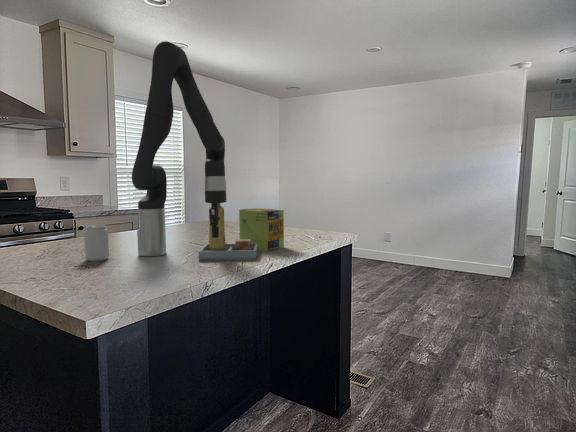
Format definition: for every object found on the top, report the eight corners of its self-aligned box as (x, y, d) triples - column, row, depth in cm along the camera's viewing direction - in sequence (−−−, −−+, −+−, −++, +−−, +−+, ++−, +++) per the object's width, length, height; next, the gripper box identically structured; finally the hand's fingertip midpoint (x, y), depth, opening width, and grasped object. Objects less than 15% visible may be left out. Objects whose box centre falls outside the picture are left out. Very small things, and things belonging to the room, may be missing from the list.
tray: (198, 260, 134) (198, 251, 133) (206, 252, 148) (206, 243, 148) (255, 260, 134) (255, 250, 134) (257, 251, 149) (257, 243, 148)
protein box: (268, 251, 150) (267, 211, 148) (239, 247, 159) (238, 209, 157) (284, 247, 158) (284, 209, 156) (256, 243, 167) (255, 207, 166)
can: (99, 262, 132) (97, 227, 131) (80, 261, 134) (78, 226, 133) (113, 257, 140) (112, 224, 138) (95, 257, 141) (93, 224, 140)
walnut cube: (235, 255, 139) (235, 241, 138) (237, 252, 144) (236, 239, 143) (249, 255, 139) (249, 241, 138) (250, 252, 144) (250, 239, 143)
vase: (227, 245, 143) (226, 207, 142) (223, 248, 137) (222, 208, 136) (211, 245, 144) (210, 207, 142) (206, 248, 138) (205, 208, 136)
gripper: (223, 189, 131) (224, 239, 133) (228, 188, 146) (229, 233, 147) (200, 190, 131) (202, 239, 133) (208, 188, 145) (209, 233, 147)
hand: (216, 236), depth 140 cm, fingers closed on vase, 5 cm apart
